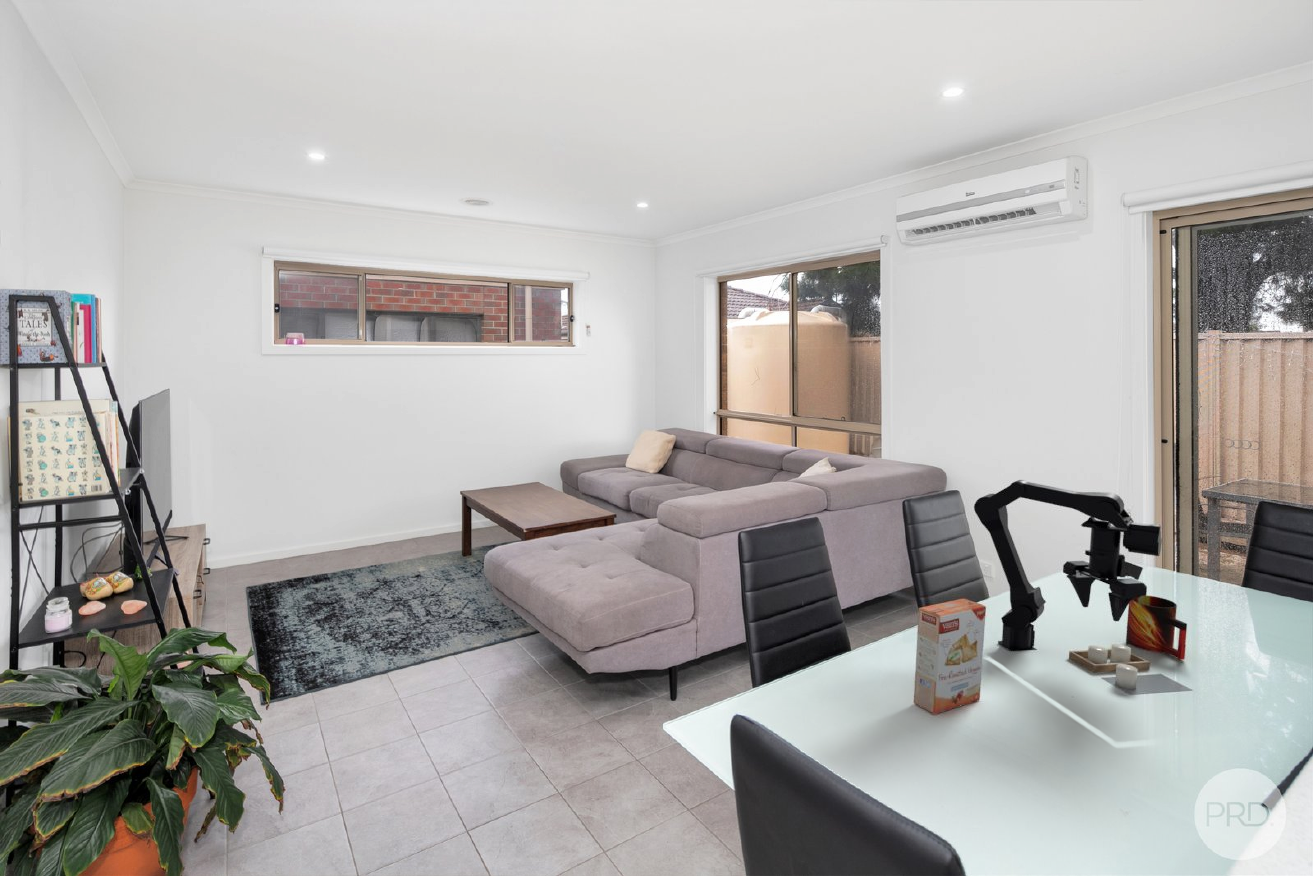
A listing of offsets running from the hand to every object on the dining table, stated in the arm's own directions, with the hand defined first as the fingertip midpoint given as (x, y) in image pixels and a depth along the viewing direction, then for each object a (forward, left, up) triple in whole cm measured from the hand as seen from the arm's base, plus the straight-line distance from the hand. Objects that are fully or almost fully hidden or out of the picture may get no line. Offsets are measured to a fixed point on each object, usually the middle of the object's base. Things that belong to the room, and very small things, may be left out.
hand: (1100, 613), depth 158 cm
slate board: (+3, -10, -13) cm, 17 cm away
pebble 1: (0, 0, -12) cm, 13 cm away
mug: (+23, +7, -13) cm, 27 cm away
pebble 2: (+6, 0, -12) cm, 14 cm away
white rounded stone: (-2, -10, -12) cm, 16 cm away
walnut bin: (+3, 0, -13) cm, 13 cm away
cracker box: (-44, -11, -13) cm, 47 cm away
